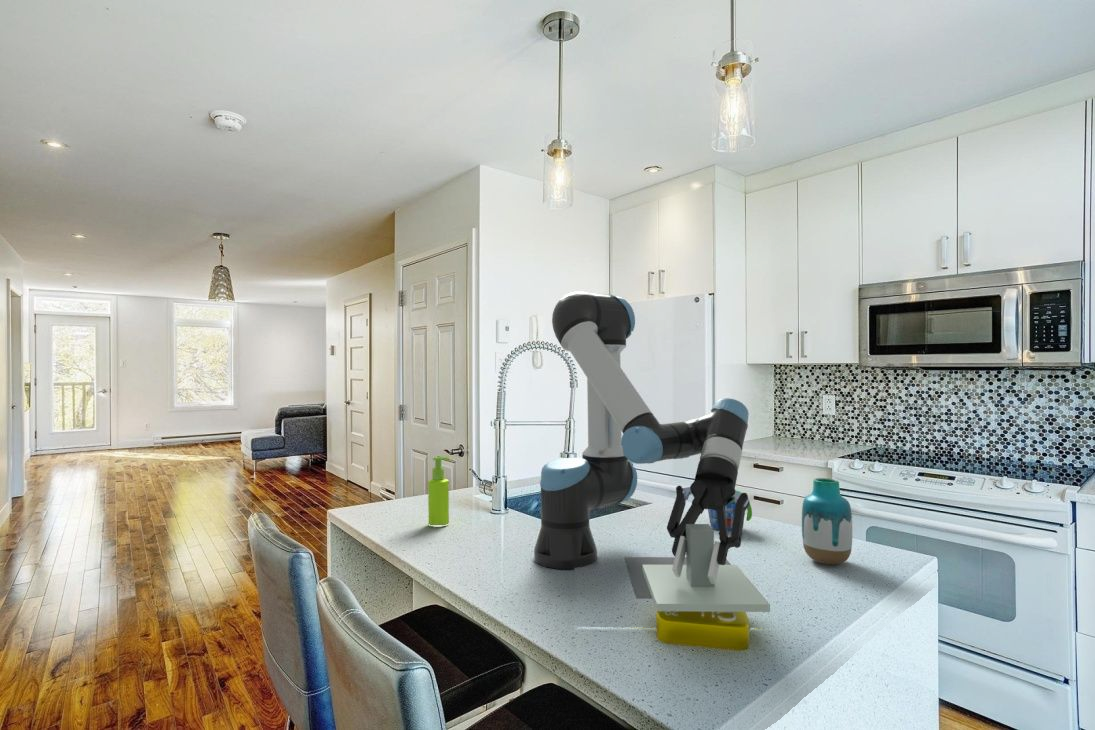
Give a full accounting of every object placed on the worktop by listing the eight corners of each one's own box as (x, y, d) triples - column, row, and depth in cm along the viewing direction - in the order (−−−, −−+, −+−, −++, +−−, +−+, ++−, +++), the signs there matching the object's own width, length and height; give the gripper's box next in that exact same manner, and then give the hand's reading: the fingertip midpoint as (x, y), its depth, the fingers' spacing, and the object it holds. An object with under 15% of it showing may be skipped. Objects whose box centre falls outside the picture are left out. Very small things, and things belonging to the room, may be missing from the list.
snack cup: (690, 525, 162) (689, 490, 162) (711, 519, 168) (711, 485, 168) (738, 538, 150) (738, 500, 150) (759, 530, 156) (759, 494, 156)
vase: (851, 558, 133) (850, 477, 133) (854, 573, 123) (853, 486, 124) (802, 552, 138) (801, 474, 138) (801, 566, 128) (800, 482, 128)
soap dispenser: (450, 527, 162) (449, 458, 162) (426, 527, 162) (426, 458, 162) (454, 522, 168) (453, 455, 168) (431, 522, 168) (430, 455, 168)
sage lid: (657, 611, 90) (656, 543, 90) (642, 570, 108) (641, 513, 108) (770, 611, 90) (769, 543, 90) (736, 571, 108) (735, 513, 108)
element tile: (740, 614, 104) (740, 588, 104) (750, 654, 90) (750, 624, 90) (659, 607, 108) (658, 582, 108) (655, 644, 93) (655, 616, 93)
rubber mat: (636, 600, 110) (636, 598, 110) (623, 558, 134) (623, 557, 134) (759, 600, 109) (759, 598, 109) (725, 559, 133) (725, 557, 133)
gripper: (771, 482, 107) (753, 598, 93) (677, 473, 117) (648, 577, 103) (765, 458, 103) (745, 576, 89) (668, 451, 113) (636, 556, 98)
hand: (693, 576), depth 96 cm, fingers closed on sage lid, 5 cm apart
